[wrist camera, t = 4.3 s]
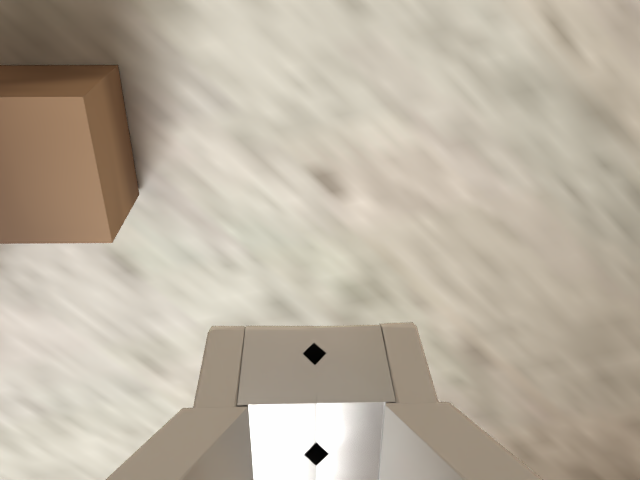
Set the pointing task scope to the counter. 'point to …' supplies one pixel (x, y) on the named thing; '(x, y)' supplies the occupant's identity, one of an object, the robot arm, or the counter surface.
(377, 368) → the robot arm
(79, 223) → the t block
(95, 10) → the counter surface
